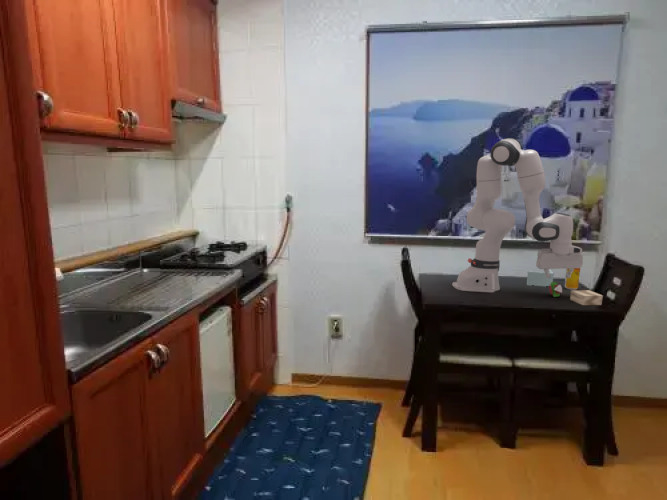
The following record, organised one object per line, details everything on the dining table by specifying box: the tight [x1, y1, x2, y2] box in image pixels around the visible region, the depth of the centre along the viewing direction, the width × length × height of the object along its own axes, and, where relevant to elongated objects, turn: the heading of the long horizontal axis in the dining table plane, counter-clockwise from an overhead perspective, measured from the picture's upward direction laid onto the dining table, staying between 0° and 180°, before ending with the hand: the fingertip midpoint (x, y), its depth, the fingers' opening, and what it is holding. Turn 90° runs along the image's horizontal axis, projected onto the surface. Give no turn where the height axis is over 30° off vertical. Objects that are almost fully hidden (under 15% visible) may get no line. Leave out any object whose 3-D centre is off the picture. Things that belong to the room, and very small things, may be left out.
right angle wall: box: [526, 269, 555, 287], centre depth 247 cm, size 12×12×8 cm
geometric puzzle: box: [546, 281, 564, 298], centre depth 223 cm, size 7×7×8 cm
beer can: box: [564, 268, 581, 291], centre depth 237 cm, size 6×6×15 cm
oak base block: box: [569, 289, 604, 306], centre depth 213 cm, size 9×9×4 cm
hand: (558, 277), depth 221 cm, fingers open, 8 cm apart
